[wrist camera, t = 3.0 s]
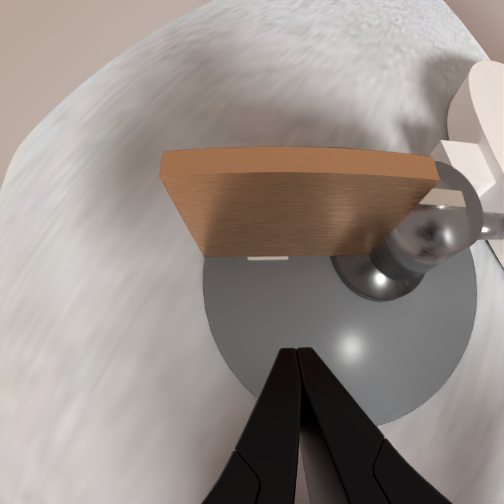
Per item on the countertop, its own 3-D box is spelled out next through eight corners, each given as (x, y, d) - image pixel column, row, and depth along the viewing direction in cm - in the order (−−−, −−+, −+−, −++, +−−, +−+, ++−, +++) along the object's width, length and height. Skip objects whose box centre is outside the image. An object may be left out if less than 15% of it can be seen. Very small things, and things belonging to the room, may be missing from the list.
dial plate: (240, 459, 15) (239, 463, 15) (184, 171, 21) (182, 165, 21) (494, 366, 16) (500, 365, 15) (414, 137, 22) (418, 131, 21)
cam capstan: (466, 209, 19) (542, 140, 10) (482, 293, 17) (579, 251, 8) (209, 205, 20) (174, 97, 10) (205, 306, 18) (149, 258, 9)
